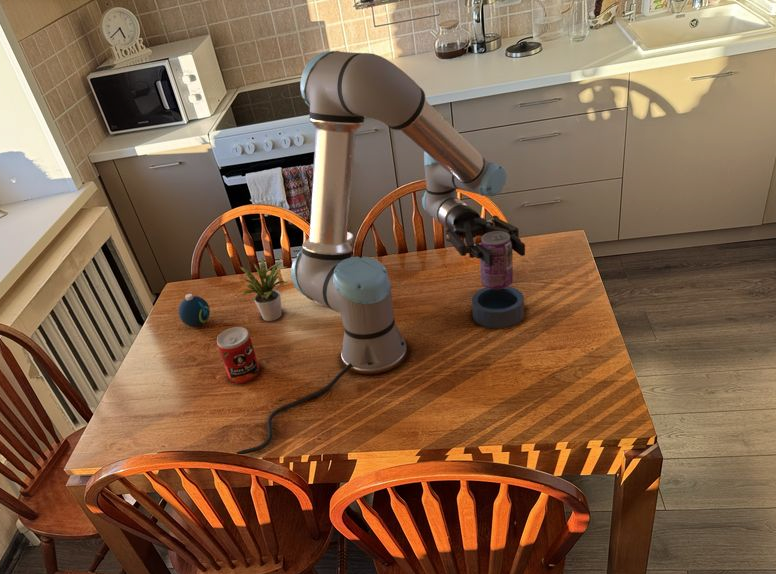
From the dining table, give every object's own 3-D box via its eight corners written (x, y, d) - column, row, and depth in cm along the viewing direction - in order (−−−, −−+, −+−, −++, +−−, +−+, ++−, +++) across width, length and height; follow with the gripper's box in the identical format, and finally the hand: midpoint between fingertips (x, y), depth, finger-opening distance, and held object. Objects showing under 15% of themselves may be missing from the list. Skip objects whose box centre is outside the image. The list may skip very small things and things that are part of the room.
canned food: (231, 387, 151) (218, 350, 145) (226, 369, 158) (214, 332, 151) (262, 378, 152) (251, 340, 146) (256, 359, 159) (245, 322, 152)
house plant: (308, 320, 169) (295, 265, 160) (259, 338, 166) (243, 283, 157) (290, 297, 180) (278, 244, 171) (244, 314, 178) (228, 261, 168)
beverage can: (508, 274, 153) (507, 227, 146) (516, 288, 147) (516, 241, 141) (478, 279, 154) (476, 233, 147) (485, 294, 148) (483, 247, 141)
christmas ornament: (192, 336, 173) (180, 305, 167) (178, 325, 179) (167, 295, 173) (219, 322, 176) (208, 291, 170) (205, 312, 182) (194, 281, 177)
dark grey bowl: (500, 334, 149) (500, 318, 146) (462, 316, 157) (461, 301, 155) (534, 311, 154) (534, 295, 151) (495, 295, 162) (495, 280, 160)
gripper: (496, 221, 163) (547, 257, 145) (423, 243, 160) (466, 283, 142) (495, 193, 159) (548, 226, 140) (420, 215, 156) (464, 252, 138)
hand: (507, 255), depth 141 cm, fingers closed on beverage can, 7 cm apart
